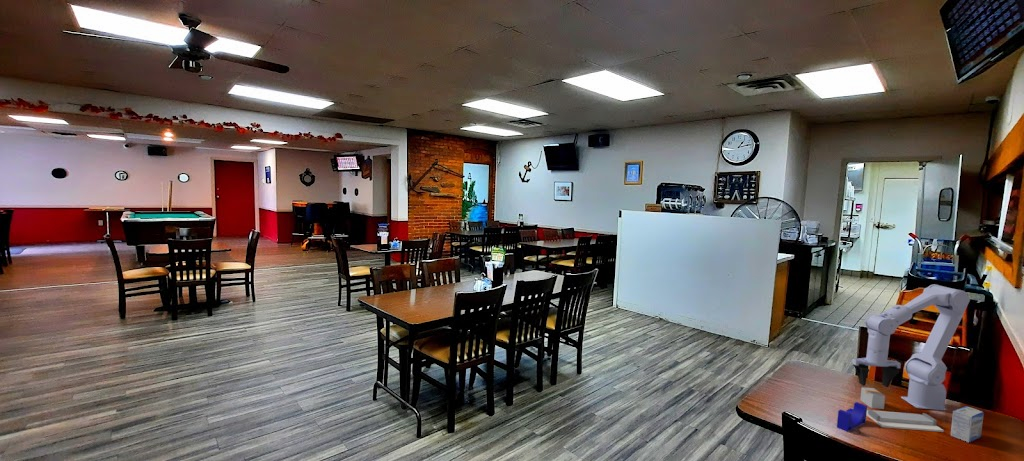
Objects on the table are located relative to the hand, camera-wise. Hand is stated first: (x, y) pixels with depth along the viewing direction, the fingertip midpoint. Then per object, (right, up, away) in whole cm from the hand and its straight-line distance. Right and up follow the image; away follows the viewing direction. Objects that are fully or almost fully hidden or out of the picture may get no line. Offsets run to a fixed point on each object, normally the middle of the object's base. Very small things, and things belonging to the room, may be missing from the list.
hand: (873, 385), depth 154 cm
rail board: (0, -9, -10) cm, 13 cm away
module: (0, -7, +1) cm, 8 cm away
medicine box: (+13, -10, -19) cm, 25 cm away
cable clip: (-19, -9, -12) cm, 24 cm away
